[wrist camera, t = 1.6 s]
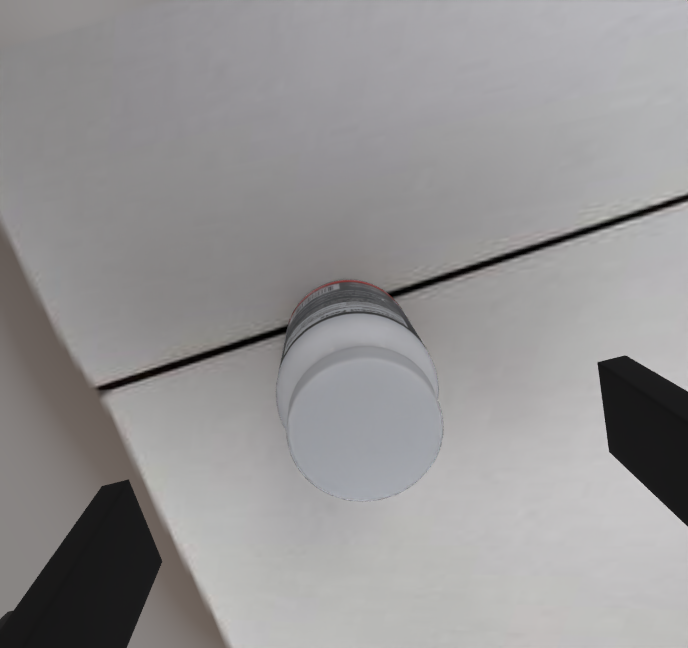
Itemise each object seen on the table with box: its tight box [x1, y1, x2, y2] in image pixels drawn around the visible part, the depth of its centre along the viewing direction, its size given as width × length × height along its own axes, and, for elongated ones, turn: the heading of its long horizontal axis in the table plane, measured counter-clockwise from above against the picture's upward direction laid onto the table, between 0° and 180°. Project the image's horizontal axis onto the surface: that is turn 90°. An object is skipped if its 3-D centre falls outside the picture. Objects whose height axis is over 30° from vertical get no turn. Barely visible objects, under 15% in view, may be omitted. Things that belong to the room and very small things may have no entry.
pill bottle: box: [276, 280, 444, 501], centre depth 20 cm, size 6×6×10 cm
